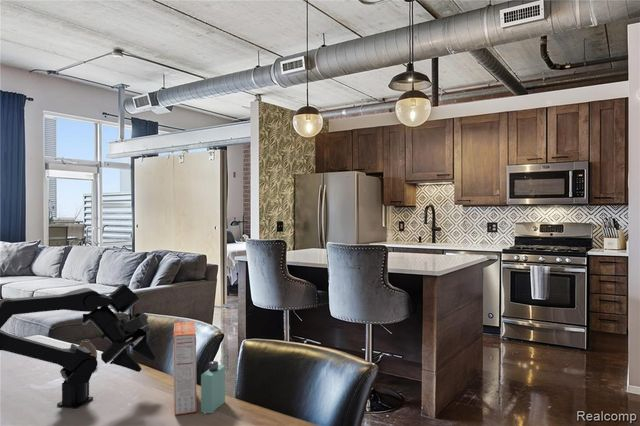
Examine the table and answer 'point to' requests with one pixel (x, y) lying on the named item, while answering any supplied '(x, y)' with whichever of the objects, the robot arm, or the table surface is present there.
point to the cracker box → (184, 368)
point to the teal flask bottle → (212, 387)
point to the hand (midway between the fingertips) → (147, 364)
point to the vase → (89, 347)
